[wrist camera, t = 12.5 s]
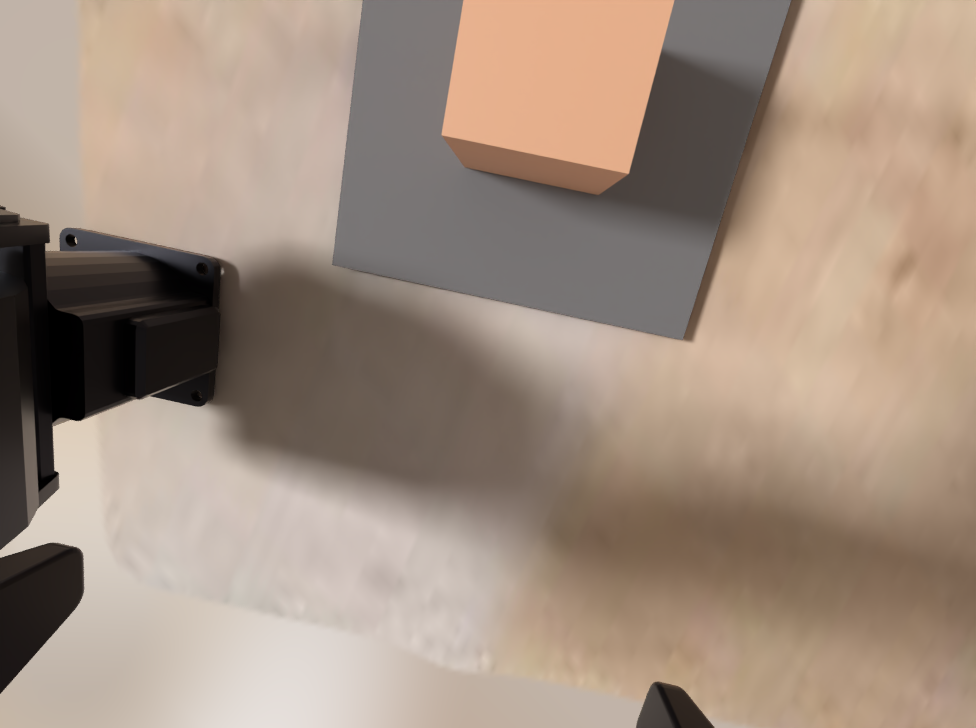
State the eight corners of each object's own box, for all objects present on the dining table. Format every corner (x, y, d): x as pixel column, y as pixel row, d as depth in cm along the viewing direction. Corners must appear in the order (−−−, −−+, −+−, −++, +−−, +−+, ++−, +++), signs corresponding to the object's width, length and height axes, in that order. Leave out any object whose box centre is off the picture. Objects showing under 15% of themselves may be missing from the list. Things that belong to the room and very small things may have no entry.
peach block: (464, 167, 17) (441, 135, 12) (492, 12, 16) (478, -93, 11) (598, 195, 17) (628, 173, 12) (636, 41, 16) (687, -52, 11)
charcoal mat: (338, 264, 19) (332, 264, 18) (388, -161, 15) (383, -177, 15) (677, 337, 18) (682, 340, 18) (809, -79, 15) (820, -92, 14)
